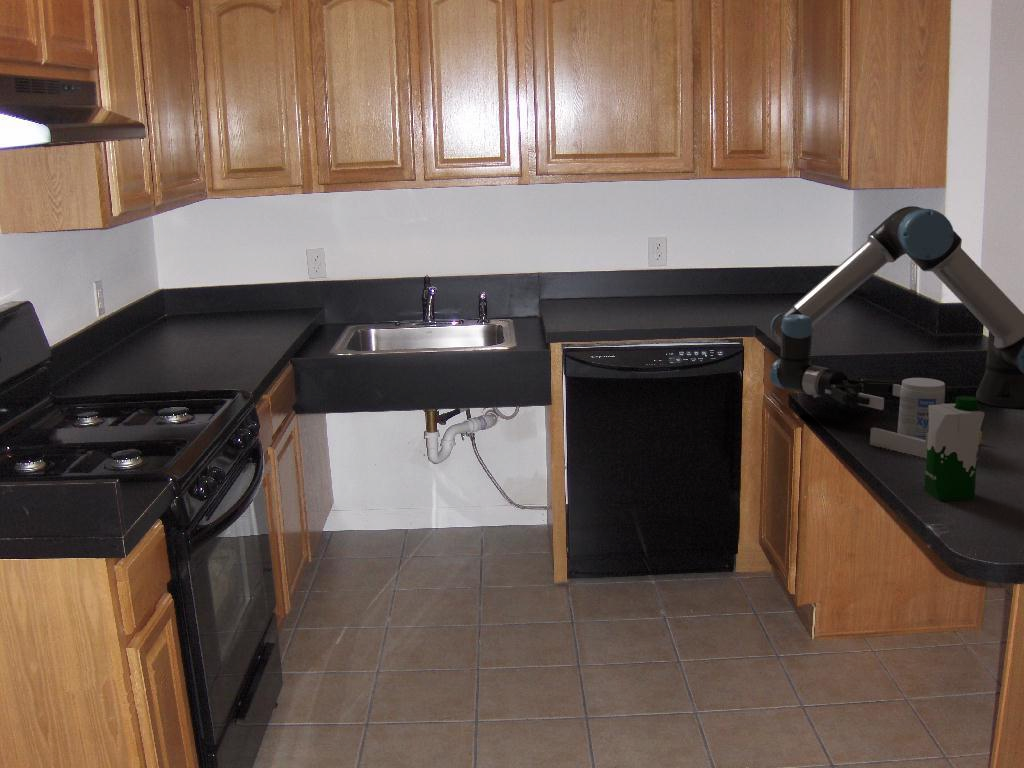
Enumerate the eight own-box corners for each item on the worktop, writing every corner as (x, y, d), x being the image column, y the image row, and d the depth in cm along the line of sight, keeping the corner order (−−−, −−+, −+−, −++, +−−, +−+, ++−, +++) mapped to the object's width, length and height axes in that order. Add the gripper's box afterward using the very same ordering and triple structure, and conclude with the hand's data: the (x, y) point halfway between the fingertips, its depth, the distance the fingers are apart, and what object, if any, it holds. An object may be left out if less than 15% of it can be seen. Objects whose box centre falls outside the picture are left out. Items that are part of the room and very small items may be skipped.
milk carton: (981, 501, 205) (990, 403, 200) (936, 503, 204) (944, 404, 200) (959, 486, 214) (967, 392, 209) (916, 488, 213) (924, 393, 208)
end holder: (869, 444, 243) (871, 419, 241) (909, 432, 251) (911, 409, 250) (928, 460, 231) (930, 434, 229) (968, 447, 239) (970, 422, 238)
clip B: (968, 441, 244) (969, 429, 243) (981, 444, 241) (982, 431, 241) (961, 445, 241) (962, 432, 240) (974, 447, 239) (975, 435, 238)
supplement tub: (920, 451, 235) (925, 388, 231) (887, 441, 243) (891, 380, 239) (950, 445, 239) (955, 383, 236) (917, 435, 247) (921, 375, 244)
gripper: (855, 389, 268) (930, 406, 251) (792, 405, 253) (866, 424, 237) (857, 361, 266) (932, 375, 249) (793, 375, 252) (868, 392, 235)
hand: (900, 399), depth 243 cm, fingers open, 13 cm apart
